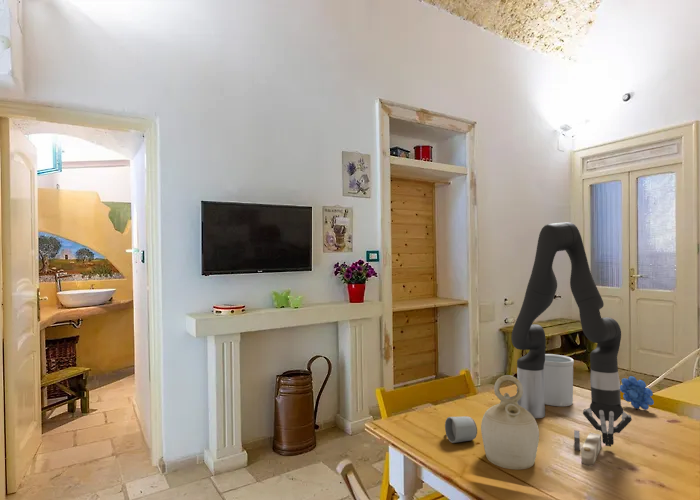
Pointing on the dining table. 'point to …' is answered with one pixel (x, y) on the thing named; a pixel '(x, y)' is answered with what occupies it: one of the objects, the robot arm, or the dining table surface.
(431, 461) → the dining table surface
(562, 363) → the utensil holder
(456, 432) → the ceramic mug
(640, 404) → the grapes
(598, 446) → the folding leg
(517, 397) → the jug
